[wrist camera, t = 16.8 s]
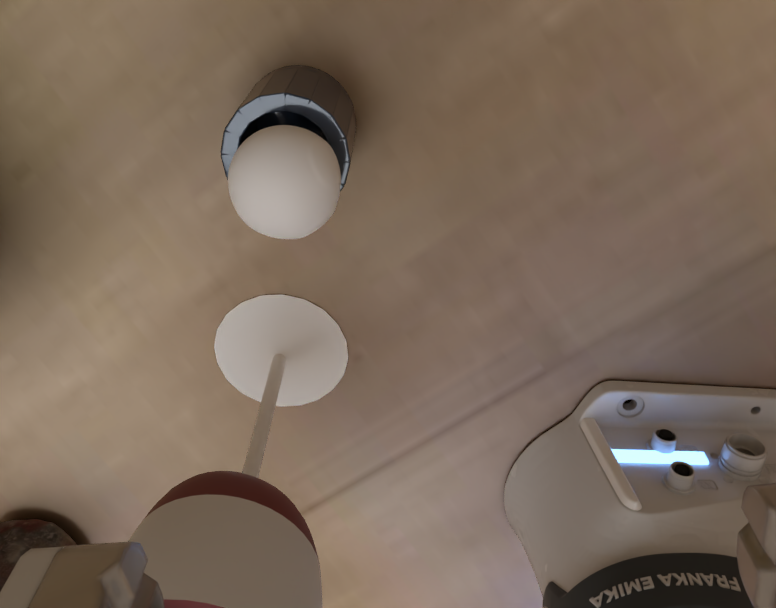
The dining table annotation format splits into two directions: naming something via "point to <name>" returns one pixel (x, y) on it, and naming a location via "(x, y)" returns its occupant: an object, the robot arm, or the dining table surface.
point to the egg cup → (296, 112)
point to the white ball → (284, 181)
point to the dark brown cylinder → (27, 541)
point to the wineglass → (249, 473)
